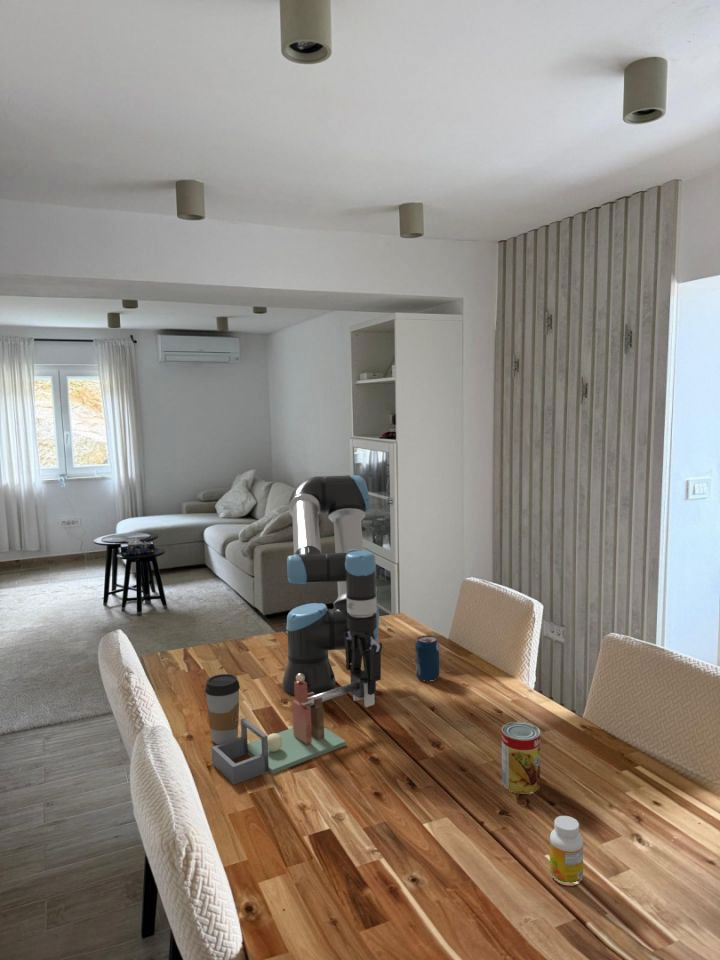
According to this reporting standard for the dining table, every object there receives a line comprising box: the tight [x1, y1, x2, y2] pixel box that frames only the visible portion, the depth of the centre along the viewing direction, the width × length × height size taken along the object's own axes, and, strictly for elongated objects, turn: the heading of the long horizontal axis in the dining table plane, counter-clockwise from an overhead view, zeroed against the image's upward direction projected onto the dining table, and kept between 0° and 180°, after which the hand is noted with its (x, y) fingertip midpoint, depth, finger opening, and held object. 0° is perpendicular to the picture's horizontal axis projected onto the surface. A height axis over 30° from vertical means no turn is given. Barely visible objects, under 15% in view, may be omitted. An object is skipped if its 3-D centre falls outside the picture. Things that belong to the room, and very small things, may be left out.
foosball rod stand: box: [291, 669, 377, 745], centre depth 166 cm, size 22×6×16 cm, turn 127°
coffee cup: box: [204, 673, 241, 745], centre depth 164 cm, size 8×8×15 cm
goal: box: [211, 717, 269, 786], centre depth 150 cm, size 8×11×8 cm
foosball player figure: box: [307, 692, 325, 740], centre depth 162 cm, size 2×5×11 cm, turn 37°
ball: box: [267, 733, 282, 752], centre depth 156 cm, size 4×4×4 cm
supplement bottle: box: [549, 815, 584, 883], centre depth 113 cm, size 5×5×10 cm
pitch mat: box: [247, 726, 347, 775], centre depth 159 cm, size 20×14×1 cm
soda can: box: [414, 635, 440, 681], centre depth 198 cm, size 7×7×12 cm
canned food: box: [501, 721, 541, 794], centre depth 141 cm, size 8×8×12 cm
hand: (363, 702), depth 171 cm, fingers closed on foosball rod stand, 4 cm apart
